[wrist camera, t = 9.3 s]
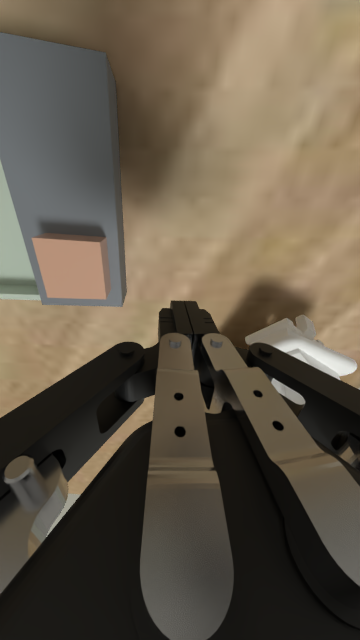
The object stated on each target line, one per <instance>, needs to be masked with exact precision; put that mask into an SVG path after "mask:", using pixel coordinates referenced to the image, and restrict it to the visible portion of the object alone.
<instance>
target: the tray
mask: <svg viewBox="0 0 360 640" xmlns="http://www.w3.org/2000/svg"><path fill="white" fill-rule="evenodd" d="M0 299H17V300H41V298H40V295H39V291H38V288H37V284H36V281H35V277H34V274H33V271H32V267H31V264H30V260H29V257H28V253H27V250H26V247H25V243H24V240H23V236H22V233H21V229H20V226H19V222H18V219H17V216H16V212H15V209H14V205H13V202H12V198H11V195H10V191H9V188H8V185H7V181H6V178H5V174H4V171H3V167H2V164H1V161H0Z"/></svg>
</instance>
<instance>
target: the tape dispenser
mask: <svg viewBox="0 0 360 640" xmlns="http://www.w3.org/2000/svg"><path fill="white" fill-rule="evenodd" d="M295 320H296V325H297V327H295V326H294V325H293V322H292V321H291V320H289V319H288V318H285V319H283V320H281V321H278V322H276V323H274V324H272V325H270V326H268V327H265V328H263V329H261V330H259V331H257V332H255V333H253V334H250V335H248V336H246V337H245V341H246V343H247V344H248V345H251V344H253V343H258V342H260V343H266V344H269V345H271V346H273V347H275V348H277V349H279V350H281V351H283V352H285V353H287V354H289V355H291V356H293V357H295V358H297V359H299V360H301V361H303V362H305V363H307V364H309V365H311V366H313V367H315V368H317V369H319V370H321V371H323V372H325V373H327V374H329V375H331V376H333V377H335V378H337V379H339V380H340V378H339V376H342V375H347V374H350V373H353V372H354V371H355V370H356V369H357V364H356V361H355V360H354V359H352V358H350V357H347V356H345V355H343V354H341V353H338V352H336V351H334V350H332V349H329V348H327V347H325V346H324V344H323V343H322V342H321V341H320V340H314V339H313V338H314V337H315V335H316V331H315V328H314V324H313V321H311V320H310V319H309V318H307V317H306V316H304V315H303V314H302V315H300V316H298V317H296V319H295ZM271 383H272V384H273V386H274V387H275V388H276V390H277V391H278V393H280V394H282V395H283V396H285V397H286V398H288V399H290V400H291V401H293V402H294V403H296V404H300V405H302V404H305V400H304V398H303V397H302V396H301V395H300V394H299V393H297V392H296V391H294V390H292V389H291V388H289V387H287V386H285V385H284V384H282V383H280V382H279V381H277V380H275V379H274V378H273V379H272V381H271Z"/></svg>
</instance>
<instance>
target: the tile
mask: <svg viewBox="0 0 360 640" xmlns="http://www.w3.org/2000/svg"><path fill="white" fill-rule="evenodd" d="M32 242H33V245H34V249H35V253H36V256H37V260H38V264H39V267H40V271H41V275H42V279H43V282H44V286H45V290H46V293H47V297H48V298H74V299H107V297H108V295H109V293H110V291H111V281H110V271H109V260H108V249H107V238H106V237H97V236H83V235H69V234H55V233H44V234H41V235H38V236H35V237H32Z"/></svg>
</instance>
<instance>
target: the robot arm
mask: <svg viewBox="0 0 360 640" xmlns="http://www.w3.org/2000/svg"><path fill="white" fill-rule="evenodd" d="M158 341H159V342H158V343H157V344H156V345H155V346H153V347H150V348H146V349H144V348H143V347H142V346H141V345H140V344H138V343H135V342H123V343H119V344H117V345H115V346H114V347H112V348H110V349H109V350H107V351H106V352H104V353H102V354H101V355H99V356H98V357H96V358H95V359H93V360H91V361H90V362H88V363H87V364H85V365H83V366H82V367H80V368H79V369H77V370H76V371H74V372H72V373H71V374H69V375H68V376H66V377H65V378H63V379H61V380H60V381H58V382H57V383H55V384H53V385H52V386H50V387H49V388H47V389H46V390H44V391H42V392H41V393H39V394H38V395H36V396H35V397H33V398H31V399H30V400H28V401H27V402H25V403H23V404H22V405H20V406H19V407H17V408H16V409H14V410H12V411H11V412H9V413H8V414H6V415H4V416H3V417H1V418H0V640H360V390H359V389H357V388H355V387H353V386H351V385H349V384H347V383H345V382H343V381H341V380H339V379H337V378H335V377H333V376H331V375H329V374H327V373H325V372H323V371H321V370H319V369H317V368H315V367H313V366H311V365H309V364H307V363H305V362H303V361H301V360H299V359H297V358H295V357H293V356H291V355H289V354H287V353H285V352H283V351H281V350H279V349H277V348H275V347H273V346H271V345H269V344H266V343H260V342H258V343H253V344H251V345H250V348H249V350H246V349H242V348H237V347H234V346H233V344H232V343H231V341H230V340H229V339H228V338H227V337H225V336H223V335H221V334H220V333H219V331H218V329H217V327H216V325H215V323H214V321H213V319H212V317H211V315H210V313H208V312H207V311H206V310H205V309H199V307H198V305H197V302H196V301H184V302H183V301H171V304H170V308H162V309H161V311H160V312H159V327H158ZM273 378H274V379H275V380H277V381H279V382H280V383H282V384H284V385H285V386H287V387H289V388H291V389H292V390H294V391H296V392H297V393H299V394H300V395H301V396H302V397H303V398H304V400H305V404H302V405H300V404H296V403H294V402H293V401H291V400H290V399H288V398H286V397H285V396H283V395H282V394H280V393H278V391H277V390H276V388H275V387H274V386H273V384H272V383H271V381H272V379H273ZM152 395H155V400H154V411H153V421H151V422H149V423H146V424H145V425H143V426H141V427H140V428H138V429H137V430H136V431H134V432H133V433H132V434H131V435H130V436H129V437H128V438H127V439H126V440H125V441H124V442H123V444H122V445H121V446H120V447H119V449H118V450H117V451H116V452H115V453H114V455H113V456H112V457H111V458H110V460H109V461H108V462H107V463H106V465H105V466H104V467H103V468H102V469H101V471H100V472H99V473H98V474H97V476H96V477H95V478H94V479H93V481H92V482H91V483H90V484H89V485H88V487H87V488H86V489H85V490H84V492H83V493H82V494H81V495H80V497H79V498H78V499H77V500H76V502H75V503H74V504H73V505H72V506H71V508H70V509H69V510H68V512H67V513H66V514H65V515H64V516H63V517H62V519H61V520H60V521H59V522H58V524H57V525H56V526H55V527H54V529H53V530H52V531H51V532H50V534H49V535H48V536H47V537H46V535H47V533H48V531H49V529H50V527H51V525H52V524H53V522H54V521H55V520H56V518H57V517H58V515H59V514H60V513H61V511H62V509H63V508H64V505H65V503H66V500H67V497H68V483H67V482H68V481H69V480H70V479H71V478H72V477H73V476H74V475H75V474H76V473H77V472H78V471H79V470H80V469H81V467H82V466H83V465H84V464H85V463H86V462H87V461H88V460H89V459H90V458H91V457H92V456H93V455H94V454H95V453H96V452H97V451H98V450H99V448H100V447H101V446H102V445H103V444H104V443H105V442H106V441H107V440H108V439H109V438H110V437H111V436H112V435H113V434H114V433H115V432H116V430H117V429H118V428H119V427H120V426H121V425H122V424H123V423H124V422H125V421H126V420H127V419H128V418H129V417H130V416H131V415H132V414H133V413H134V411H135V410H136V409H137V408H138V407H139V406H140V405H141V404H142V403H143V401H144V398H146V397H149V396H152Z"/></svg>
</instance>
